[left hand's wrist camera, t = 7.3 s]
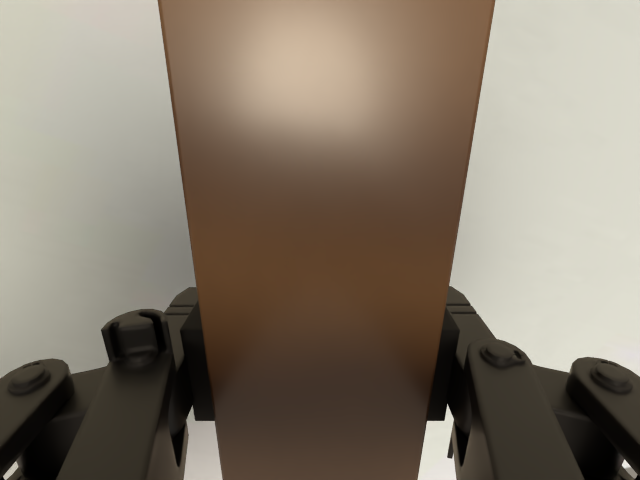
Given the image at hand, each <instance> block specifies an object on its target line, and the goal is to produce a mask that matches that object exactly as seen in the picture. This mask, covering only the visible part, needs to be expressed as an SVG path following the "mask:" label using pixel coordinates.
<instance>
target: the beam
mask: <svg viewBox="0 0 640 480" xmlns="http://www.w3.org/2000/svg"><path fill="white" fill-rule="evenodd" d="M494 5H495V0H158V6H159V13H160V21H161V28H162V35H163V43H164V50H165V58H166V65H167V72H168V80H169V87H170V94H171V102H172V109H173V117H174V124H175V131H176V139H177V146H178V153H179V161H180V168H181V176H182V183H183V190H184V198H185V205H186V212H187V220H188V227H189V235H190V242H191V249H192V257H193V264H194V271H195V279H196V286H197V294H198V301H199V308H200V316H201V323H202V330H203V338H204V345H205V353H206V360H207V367H208V375H209V382H210V389H211V397H212V404H213V412H214V419H215V426H216V434H217V441H218V448H219V456H220V463H221V471H222V478H223V480H417V479H418V473H419V466H420V460H421V454H422V448H423V442H424V436H425V430H426V423H427V417H428V411H429V405H430V399H431V393H432V386H433V380H434V374H435V368H436V362H437V356H438V350H439V343H440V337H441V331H442V325H443V319H444V313H445V307H446V300H447V294H448V288H449V282H450V276H451V270H452V263H453V257H454V251H455V245H456V239H457V233H458V227H459V220H460V214H461V208H462V202H463V196H464V190H465V184H466V177H467V171H468V165H469V159H470V153H471V147H472V141H473V134H474V128H475V122H476V116H477V110H478V104H479V97H480V91H481V85H482V79H483V73H484V67H485V61H486V54H487V48H488V42H489V36H490V30H491V24H492V18H493V11H494Z"/></svg>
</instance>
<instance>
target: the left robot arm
mask: <svg viewBox="0 0 640 480" xmlns="http://www.w3.org/2000/svg"><path fill="white" fill-rule="evenodd" d="M101 332H102V336H103V339H104V343H105V347H106V350H107V354H108V358H109V363H108V365H107V366H106V367H102V368H99V369H94V370H89V371H85V372H80V373H75V374H71V373H70V370H69V367H68V364H66V363H65V362H64V361H63V360H58V359H45V360H39V361H34V362H32V363H28V364H25V365H23V366H21V367H19V368H17V369H15V370H13V371H11V372H9V373H8V374H7V375H5V376H4V377H2V378H1V379H0V480H5V479H4V478H3V476H4V474H5V473H6V472H7V471H8V470H9V468H10V467H11V466H12V465H13V464H14V462H15V461H16V462H17V464H18V466H19V467H18V468H17V470H16V471H15V472H14V473H13V474H12V475H11V476H10V477H9V478H8V479H7V480H183V479H184V471H185V462H186V453H187V444H188V436H189V435H188V428H187V422H186V419H187V417H188V414H189V412H190V410H191V407H192V405H193V409H194V415H195V421H215V419H214V412H213V404H212V397H211V389H210V382H209V375H208V367H207V360H206V353H205V345H204V338H203V330H202V323H201V316H200V308H199V301H198V294H197V287H189V288H187V289H186V290H184V291H183V292H181V293H180V294H178V295H177V296H176V297H175V299H174V300H173V301H172V303H171V304H170V307H168V308H167V309H166V311H165V312H164V313H163V312H162V311H159V310H154V309H140V310H136V311H131V312H128V313H125V314H122V315H120V316H117V317H116V318H114V319H112V320H111V321H109V322H108V323H107V324H106V325H105V326H104V327H103V328H102V329H101ZM447 403H448V406H449V408H450V411H451V413H452V415H453V418H454V422H453V428H452V433H451V438H450V444H449V449H448V456H447V458H451V459H452V457H453V452H454V461H455V470H456V478H457V480H640V377H639V376H638V375H636V374H635V373H633V372H632V371H631V370H629V369H627V368H625V367H623V366H620V365H619V364H617V363H614V362H611V361H607V360H604V359H600V358H592V357H585V358H578V359H577V360H576V361H574V362H573V363H572V366H571V369H570V372H569V373H568V372H563V371H558V370H553V369H549V368H544V367H540V366H536V365H532V363H531V360H530V359H529V358H528V356H527V355H526V354H525V353H524V352H523V351H522V350H520V349H519V348H517V347H516V346H514V345H512V344H510V343H508V342H505V341H502V340H498V339H496V338H495V337H494V335H493V334H492V332H491V331H490V330H489V328H488V327H487V326H486V324H485V323H484V322H483V320H482V319H481V318H480V316H479V315H478V314H476V311H475V309H474V308H473V307H472V306H471V305H470V303H469V301H468V300H467V299H466V297H465V296H464V295H463V294H462V293H460V292H459V291H457V290H456V289H454V288H453V287H451V286H449V288H448V294H447V300H446V307H445V313H444V319H443V325H442V331H441V337H440V343H439V350H438V356H437V362H436V368H435V374H434V380H433V386H432V393H431V399H430V405H429V411H428V417H427V421H444V420H445V414H446V408H447ZM624 459H625V460H626V461H627V462H628V464H629V465H630V466H631V467H632V468H633V469H634V471H635V472H636V473H637V474H638V475H637V477H636V478H635V479H634V478H633V477H632V476H631V475H629V474H628V473H627V471H626V470H625V469H624V468H623V467H622V463H623V461H624Z"/></svg>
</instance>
